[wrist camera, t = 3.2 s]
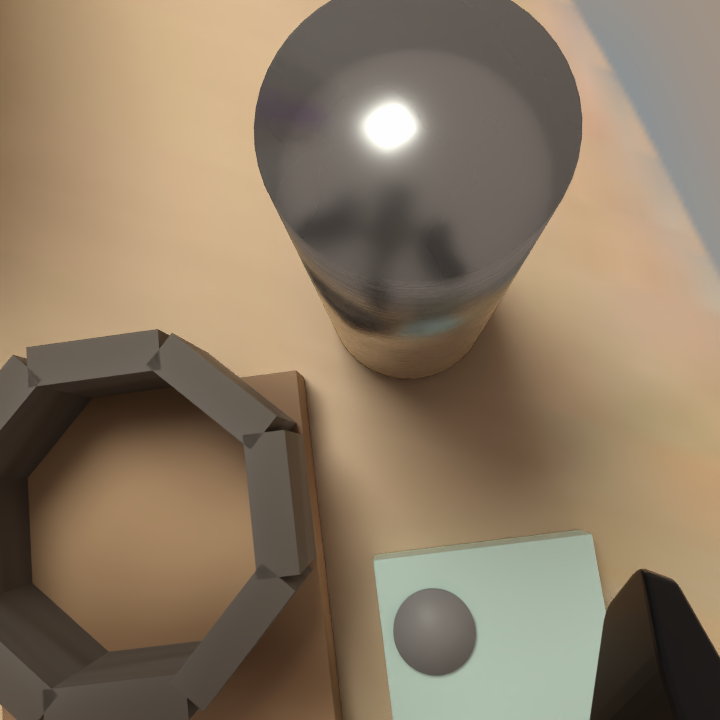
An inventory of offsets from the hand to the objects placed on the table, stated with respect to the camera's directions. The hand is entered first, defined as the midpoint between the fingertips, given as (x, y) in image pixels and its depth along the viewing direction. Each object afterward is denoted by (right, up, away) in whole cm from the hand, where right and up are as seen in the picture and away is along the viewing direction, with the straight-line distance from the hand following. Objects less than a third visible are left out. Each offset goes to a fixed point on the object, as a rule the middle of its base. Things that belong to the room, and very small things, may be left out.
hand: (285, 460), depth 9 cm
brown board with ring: (-4, -7, +11) cm, 14 cm away
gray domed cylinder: (+2, +3, +12) cm, 13 cm away
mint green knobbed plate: (+5, -9, +10) cm, 14 cm away
